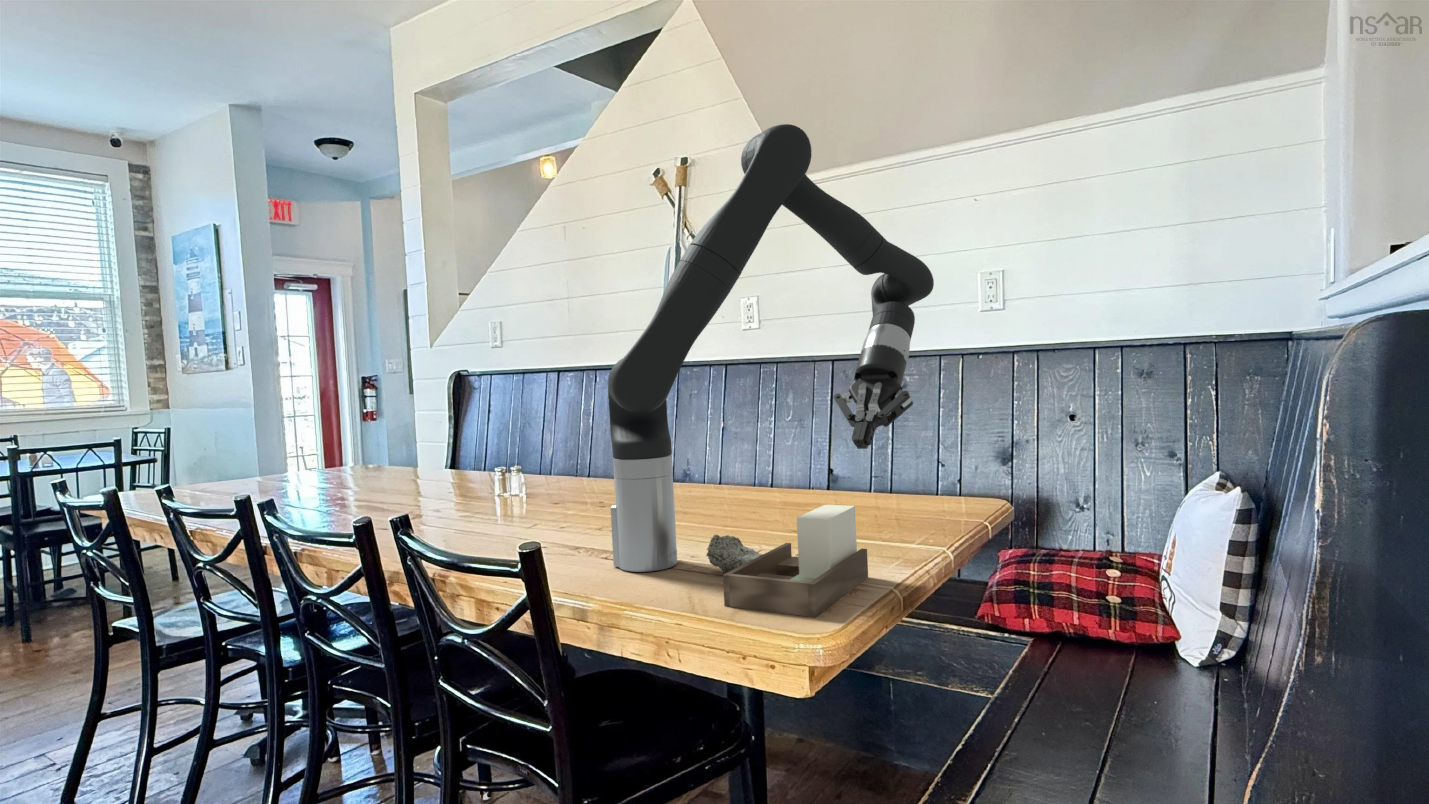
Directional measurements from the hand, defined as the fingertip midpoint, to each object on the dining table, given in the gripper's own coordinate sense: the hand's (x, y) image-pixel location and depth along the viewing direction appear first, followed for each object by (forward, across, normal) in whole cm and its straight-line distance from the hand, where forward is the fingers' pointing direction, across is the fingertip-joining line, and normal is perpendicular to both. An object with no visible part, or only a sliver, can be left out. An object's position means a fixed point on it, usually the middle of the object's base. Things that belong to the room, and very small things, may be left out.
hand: (860, 445), depth 116 cm
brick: (+20, 0, +1) cm, 20 cm away
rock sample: (+20, -15, +4) cm, 26 cm away
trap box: (+25, -2, -2) cm, 25 cm away
